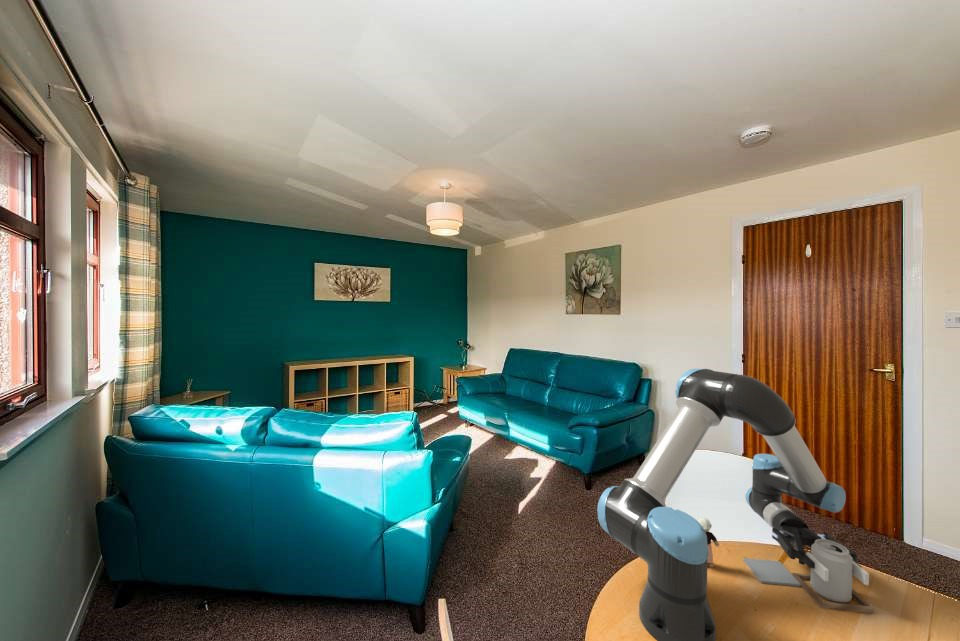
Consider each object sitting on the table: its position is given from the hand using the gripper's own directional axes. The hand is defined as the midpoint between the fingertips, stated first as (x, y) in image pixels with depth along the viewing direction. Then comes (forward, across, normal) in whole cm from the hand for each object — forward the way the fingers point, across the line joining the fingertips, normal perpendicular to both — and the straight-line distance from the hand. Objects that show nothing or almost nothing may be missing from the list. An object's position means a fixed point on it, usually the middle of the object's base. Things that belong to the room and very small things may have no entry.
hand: (846, 577), depth 90 cm
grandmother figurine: (-12, +26, -8) cm, 30 cm away
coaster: (-11, +10, -8) cm, 17 cm away
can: (-5, 0, -8) cm, 9 cm away
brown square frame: (-5, 0, -8) cm, 9 cm away
